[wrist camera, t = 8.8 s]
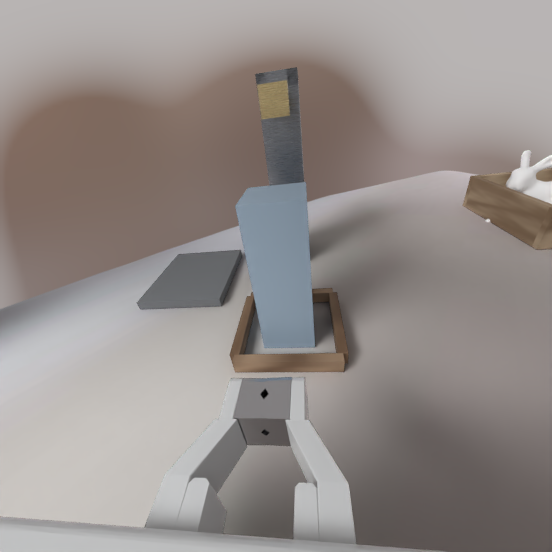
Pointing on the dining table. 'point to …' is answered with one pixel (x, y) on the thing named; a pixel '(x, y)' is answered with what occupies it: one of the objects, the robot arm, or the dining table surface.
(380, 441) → the dining table surface
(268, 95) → the bolt
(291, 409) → the robot arm
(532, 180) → the rabbit figurine
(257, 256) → the block
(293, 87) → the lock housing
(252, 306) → the socket frame
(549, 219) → the display box
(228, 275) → the mat
